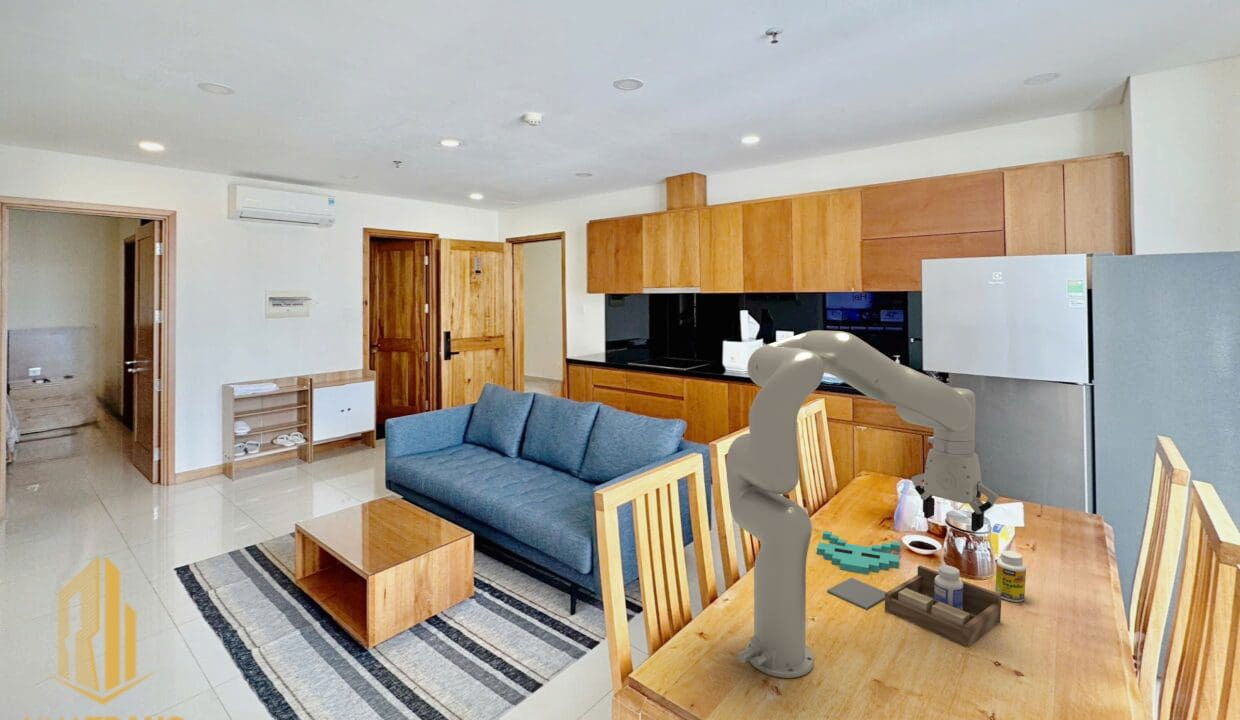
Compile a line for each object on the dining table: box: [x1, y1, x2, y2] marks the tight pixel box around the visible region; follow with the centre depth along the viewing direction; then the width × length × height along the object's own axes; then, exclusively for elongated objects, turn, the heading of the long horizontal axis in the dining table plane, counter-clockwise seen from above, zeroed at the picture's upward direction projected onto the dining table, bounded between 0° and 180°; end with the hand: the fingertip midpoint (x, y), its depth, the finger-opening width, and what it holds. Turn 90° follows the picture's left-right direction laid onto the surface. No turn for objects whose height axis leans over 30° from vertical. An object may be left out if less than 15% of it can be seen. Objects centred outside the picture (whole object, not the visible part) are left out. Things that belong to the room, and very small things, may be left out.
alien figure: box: [816, 530, 901, 576], centre depth 150 cm, size 20×2×20 cm
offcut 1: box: [898, 588, 934, 615], centre depth 121 cm, size 3×6×4 cm, turn 35°
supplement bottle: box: [994, 550, 1027, 603], centre depth 128 cm, size 6×6×10 cm
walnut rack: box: [884, 565, 1002, 648], centre depth 121 cm, size 15×17×6 cm
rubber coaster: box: [826, 577, 887, 611], centre depth 131 cm, size 10×10×1 cm
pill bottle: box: [933, 564, 964, 611], centre depth 122 cm, size 5×5×10 cm
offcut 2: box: [932, 602, 970, 628], centre depth 115 cm, size 3×6×4 cm, turn 35°
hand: (952, 523), depth 121 cm, fingers open, 9 cm apart
